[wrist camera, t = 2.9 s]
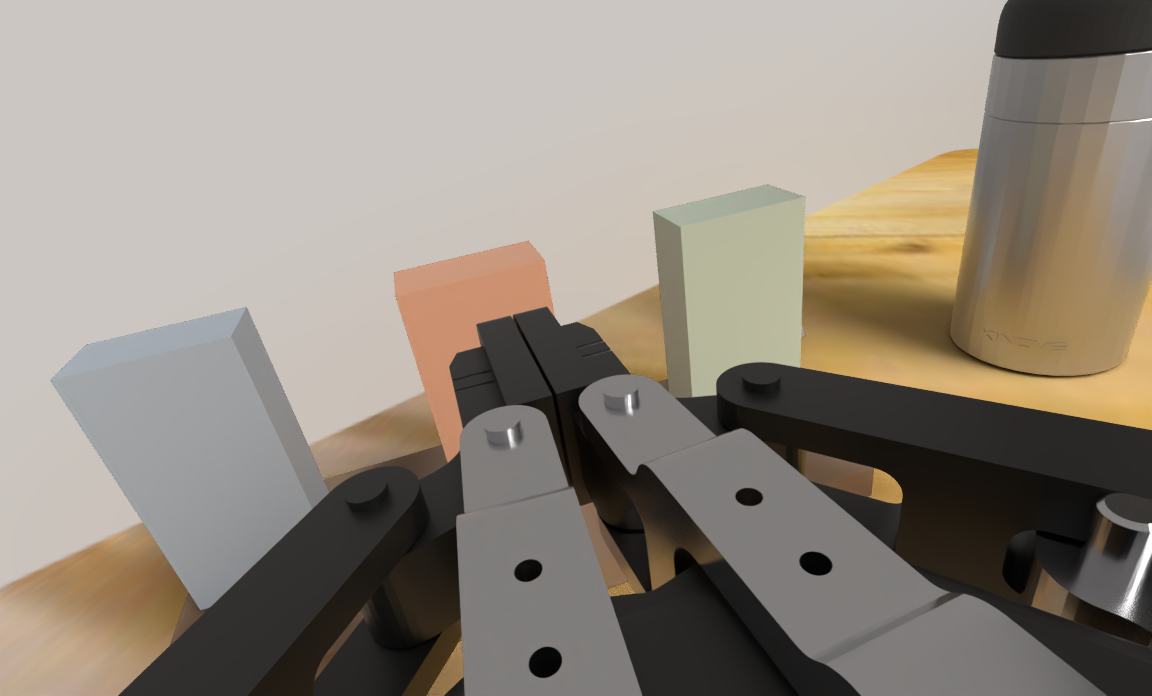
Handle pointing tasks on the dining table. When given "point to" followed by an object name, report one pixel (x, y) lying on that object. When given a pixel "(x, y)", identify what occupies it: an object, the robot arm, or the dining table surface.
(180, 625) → the brown wooden flat board
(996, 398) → the dining table surface
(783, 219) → the sage tab
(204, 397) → the slate tab
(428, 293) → the terracotta tab
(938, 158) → the dining table surface
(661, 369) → the dining table surface
